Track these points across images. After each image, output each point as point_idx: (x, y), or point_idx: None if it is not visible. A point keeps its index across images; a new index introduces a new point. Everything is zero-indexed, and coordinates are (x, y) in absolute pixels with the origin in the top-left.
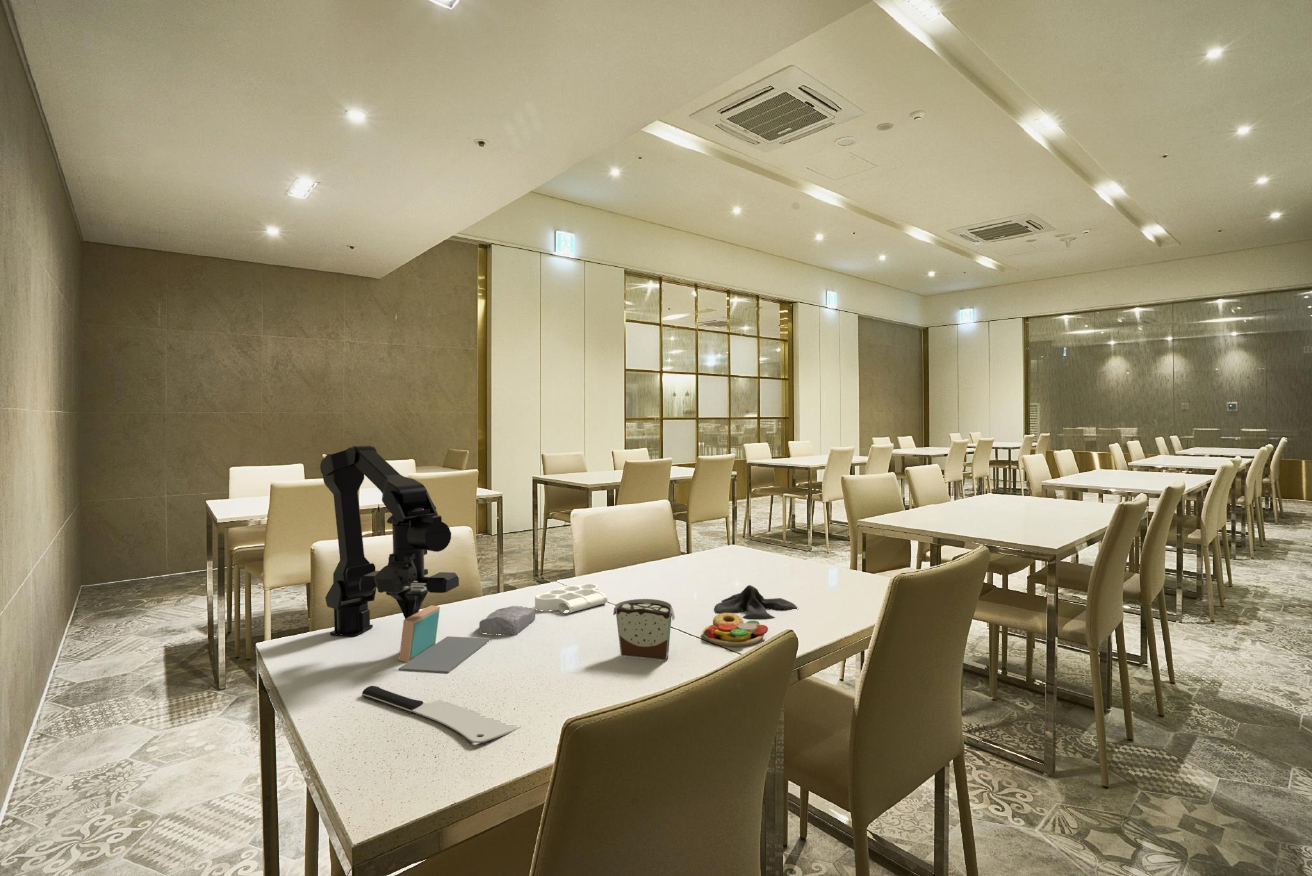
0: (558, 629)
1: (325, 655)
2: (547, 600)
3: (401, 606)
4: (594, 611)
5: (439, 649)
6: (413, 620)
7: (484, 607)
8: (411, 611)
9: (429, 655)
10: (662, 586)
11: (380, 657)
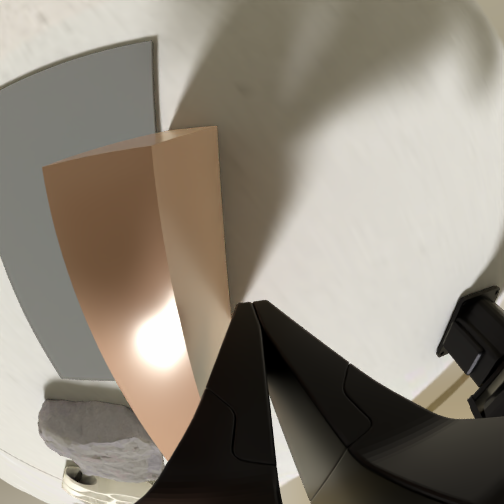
0: (15, 418)
1: (482, 162)
2: (113, 491)
3: (355, 386)
4: (51, 466)
5: None
6: (64, 204)
7: None
8: (226, 372)
9: None
10: (69, 499)
11: (330, 157)
